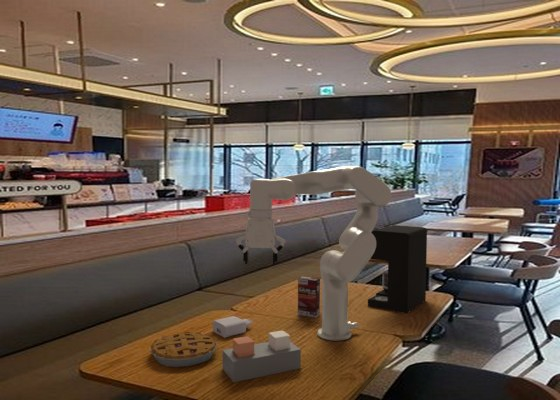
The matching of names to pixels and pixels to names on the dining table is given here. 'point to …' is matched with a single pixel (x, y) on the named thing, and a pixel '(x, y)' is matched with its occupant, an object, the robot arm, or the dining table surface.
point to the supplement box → (308, 296)
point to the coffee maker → (401, 267)
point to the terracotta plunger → (243, 347)
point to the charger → (230, 326)
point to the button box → (261, 362)
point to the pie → (183, 349)
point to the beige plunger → (279, 340)
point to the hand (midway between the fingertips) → (260, 263)
